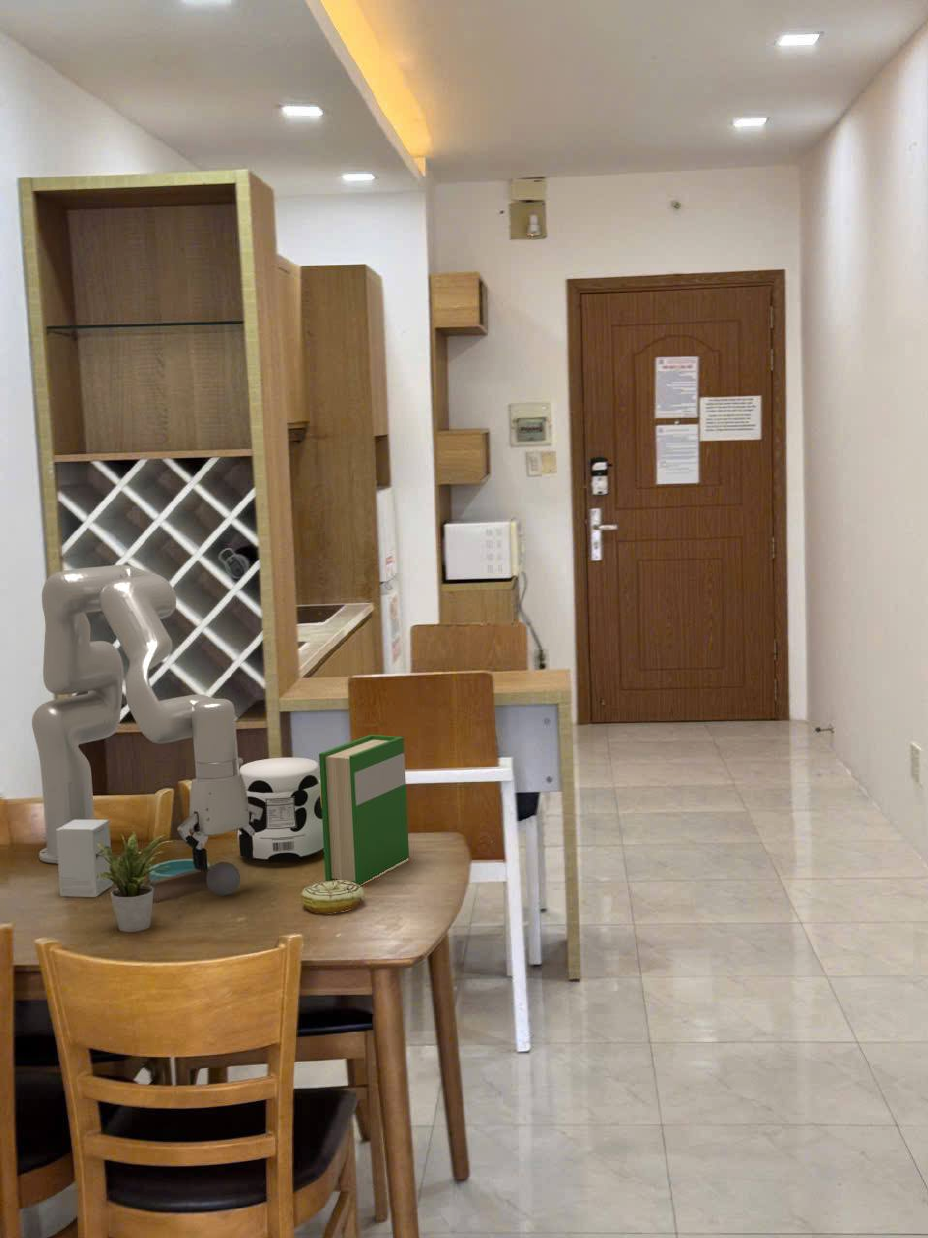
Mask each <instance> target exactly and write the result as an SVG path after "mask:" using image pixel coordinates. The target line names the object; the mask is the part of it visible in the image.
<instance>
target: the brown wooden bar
mask: <svg viewBox="0 0 928 1238" xmlns="http://www.w3.org/2000/svg"><path fill="white" fill-rule="evenodd" d="M213 865H214V864H212V865H209V866H208V869H207V871H201V870H198V869H197V870H193V871H189V872H186V873H182V874H178V875H174V876H171V877H167V878H163V879H160V880H156V881H152V882H150V881H149V884H150V885H149V886H151V887H153V888H154V891H153V901H152V903H156V904H157V903H161V902H165V901H168V900H172V899H175V898H178V897H182V896H186V895H189V894H193V893H197V892H200V891H204V890H207V889H209V888H208V885H207V882H206V877H207V873H208V871H209V869H210V868H211V867H212V866H213Z"/></svg>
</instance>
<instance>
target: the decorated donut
mask: <svg viewBox="0 0 928 1238" xmlns="http://www.w3.org/2000/svg"><path fill="white" fill-rule="evenodd" d="M362 887H363V886H361V887H360V886H359V885H357V884H356V883H355V882H354V881H347V880H338V879H337V880H334V881H322V882H316V883H314V884H311V885H308V886H306V887H304V888H303V890H302V892H301V902H302V904H303V906H304V907H305V909H306V910H309V911H310V912H312V913H315V912H316V914H321V913H333V914H335V913H334V912H338V913H342V912H341V911H346V910H349V909H352V908H353V909H354V907H355V908H357V906H358V905H359V904H361V902H363V901H364V899H365V897H366V893H365V891H364V888H362ZM353 909H352V910H353ZM349 911H350V910H349ZM317 912H318V913H317Z"/></svg>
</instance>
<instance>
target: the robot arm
mask: <svg viewBox="0 0 928 1238" xmlns="http://www.w3.org/2000/svg"><path fill="white" fill-rule="evenodd" d="M176 595H177V594H176V592H175V590H174V588H173V586H172V584H171V583H170V582H169V581H168V579H167V578H165V577H164V576H162V575H160V574H157V573H155V572H151V571H148V570H145V569H142V568H138V567H136V566H135V567H134V566H131V565H127V564H114V565H113V564H112V565H103V566H92V567H91V566H90V567H84V568H83V567H81V568H73V569H67V570H62V571H58V572H56V573H53V574H51V575H50V576H49V577H48V578H47V579H46V580H45V582H44V585H43V586H42V591H41V604H42V611H43V616H44V622H45V623H44V624H45V631H44V643H43V644H44V645H43V646H44V647H43V648H44V649H43V663H42V664H43V666H42V672H43V673H42V677H43V684H44V687H45V689H46V690H47V691H48V692H50V693H51V694H53V695H57V696H58V695H59V696H60V695H61V696H63V695H73V696H67V697H62V698H56V699H52V700H50V701H49V700H48V701H46V702H44V703H42V704H41V705H40V706H38V707H37V708H36V709H35V710H34V712H33V715H32V719H31V728H32V733H33V735H34V739H35V743H36V747H37V752H38V759H39V765H40V776H41V777H40V778H41V785H42V800H43V801H42V803H43V814H44V816H43V817H44V826H45V827H44V828H45V833H44V834H43V835H42V837H43V839H44V840H45V841H46V847H44V848H43V849H41V850H40V851H39V853H38V855H39V859H40V861H42V862H44V863H47V864H58V853H57V839H56V829H58V828H60V827H62V826H64V825H65V824H67V823H69V822H71V821H72V820H95V808H94V806H95V805H94V796H93V794H94V793H93V783H92V782H93V781H92V780H93V778H92V770H91V765H90V762H89V760H88V759H87V757H86V755H85V754H84V753H83V752H82V750H81V749H80V748H79V745H82V744H86V743H90V742H95V741H100V740H104V739H107V738H110V737H111V736H113V735H114V734H115V733H116V732H117V731H118V727H119V726H120V721H121V714H122V713H121V711H122V701H123V700H122V699H123V698H122V697H123V685H124V664H123V660H122V656H121V653H120V652H119V650H118V649H117V647H116V646H115V645H114V644H112V643H111V642H108V641H104V640H98V641H97V640H96V641H91V624H90V621H89V619H88V617H87V615H86V614H87V613H94V612H102V613H103V615H104V616H105V618H106V621H107V622H108V624H109V626H110V628H111V630H112V631H113V633H114V636H115V637H116V639H117V641H118V643H119V644H120V647H121V648H122V651H123V652H124V654H125V656H126V657H127V659H128V661H129V667H128V670H127V673H126V677H125V698H126V704H127V707H128V709H129V711H130V713H131V715H132V716H133V719H134V721H135V723H136V725H137V726H138V728H139V729H140V731H141V733H142V734H143V735H144V737H145V738H146V739H148V740H149V741H150V742H152V743H154V744H155V743H156V744H166V743H171V742H176V741H181V740H184V739H190V738H192V739H193V749H194V750H193V751H194V752H193V753H194V764H195V765H194V767H195V776H196V777H195V778H194V779H191V785H190V794H189V816H188V818H186V819H185V820H184V821H183V822H182V823H180V825H178V826H177V829H176V830H177V832H178V833H179V835H180V837H181V838H182V841H183V842H185V843H186V845H188V846H189V848H191V851H192V859H193V864H194V866H195V869H198V870H201V871H207V869H208V866H207V862H208V856H207V854H208V853H207V849H206V848H204V846H205V844H206V842H207V841H208V839H209V837H213V836H217V835H218V836H219V835H221V834H225V833H230V832H234V831H238V830H239V831H240V832H241V833H242V834H240V835H239V843H238V847H239V856H240V857H242V858H246V859H249V860H252V859H251V858H253V838H252V836H254V835H255V830H256V828H257V827H258V825H259V823H260V821H259V820H260V818H261V815H262V812H263V809H262V808H260V807H257V806H254V805H251V804H249V803H248V798H247V792H246V787H245V783H244V780H243V777H242V774H241V773H239V772H240V767H241V766H243V765H244V760H243V759H244V758H243V757H239V756H238V754H239V753H238V740H237V739H238V737H237V727H236V726H237V725H236V713H235V712H236V711H235V706H234V703H233V702H232V701H230V700H229V699H225V698H212V697H210V696H207V695H206V694H199V693H197V694H190V695H184V696H177V697H172V698H167V699H162V700H159V699H158V697H157V696H156V693H155V691H154V690H153V688H152V685H151V684H150V680H149V671H150V670H152V669H153V668H154V667H156V666H157V665H159V664H160V663H161V662H162V661H163V660H165V659H166V658H167V657H168V656H169V654H170V653H171V652H172V649H173V641H172V638H171V637H170V635H169V633H168V631H167V630H166V627H165V626H164V624H163V623H162V621H161V620H162V619H166V618H168V617H170V616H172V614H173V613H174V611H175V610H176V605H177V596H176ZM84 692H87V693H85V694H80V695H74V694H79V693H84ZM249 811H250V812H251V813H252V816H251V819H250V820H249ZM190 831H191V832H190ZM191 833H193V835H192V834H191Z"/></svg>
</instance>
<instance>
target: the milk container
mask: <svg viewBox="0 0 928 1238" xmlns="http://www.w3.org/2000/svg"><path fill="white" fill-rule="evenodd" d="M239 773H241V774H242V777H243V780H244V783H245V787H246V792H247V798H248V803H249V804H251V805H254V806H257V807H260V808H262V809H263V812H262V815H261V818H260V820H259V821H260V823H259V825H258V827H257V828H256V830H255V835H254V836H252V838H253V858H251V859H250V860H253V861H254V862H255V861H256V862H260V863H270V864H271V863H278V864H279V863H288V862H289V863H291V862H296V861H300V860H305V859H307V858H311V857H313V856H317V854H319V853H320V852H322V851H323V850H324V842H323V823H322V804H321V785H320V767H319V764H318V762H317V761H315V760H314V759H309V758H305V757H275V758H274V757H273V758H265V759H260V760H254V761H250V762H247V763H245V764H243V765H240V767H239ZM251 816H252V813H251V812H250V811H249V820H250V819H251ZM240 834H242V833H241V832H240V831H239V830H237V833H236V835H237V842H238V844H239V835H240Z"/></svg>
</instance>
